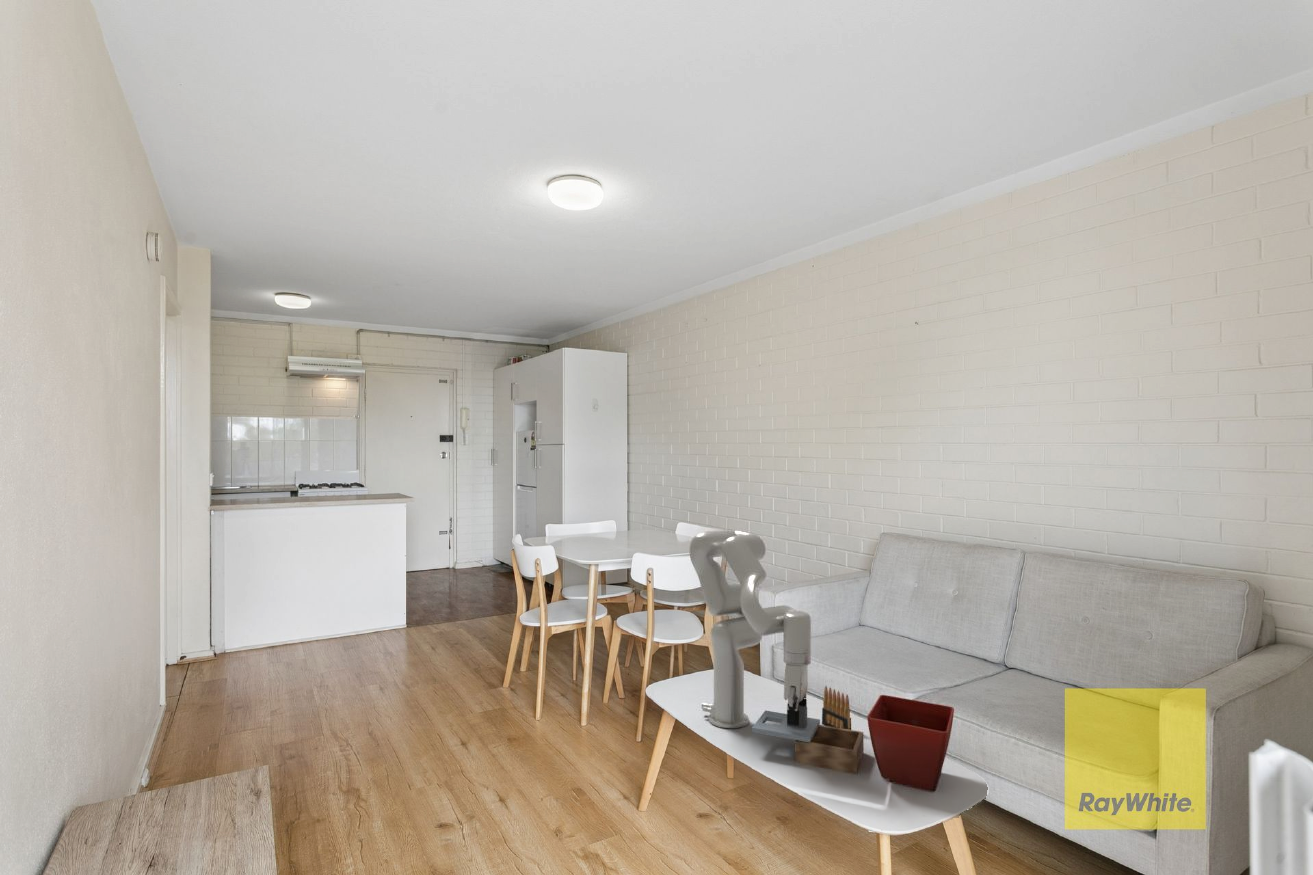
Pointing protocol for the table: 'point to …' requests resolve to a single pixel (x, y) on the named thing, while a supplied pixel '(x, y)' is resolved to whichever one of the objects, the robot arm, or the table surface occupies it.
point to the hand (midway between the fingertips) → (797, 718)
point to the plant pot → (910, 740)
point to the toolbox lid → (787, 725)
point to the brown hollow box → (832, 749)
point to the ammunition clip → (836, 710)
